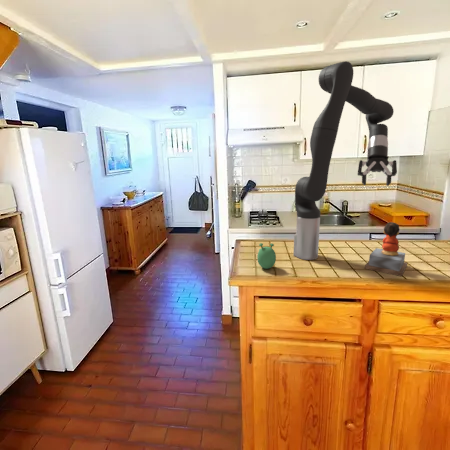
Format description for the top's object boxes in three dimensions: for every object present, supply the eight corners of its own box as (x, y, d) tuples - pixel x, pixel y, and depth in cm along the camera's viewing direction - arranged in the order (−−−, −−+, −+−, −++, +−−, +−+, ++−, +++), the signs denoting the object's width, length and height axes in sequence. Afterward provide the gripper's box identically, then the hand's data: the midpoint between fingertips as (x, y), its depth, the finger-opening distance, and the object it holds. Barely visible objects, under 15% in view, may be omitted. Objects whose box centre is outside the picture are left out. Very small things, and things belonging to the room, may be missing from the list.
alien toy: (273, 264, 114) (274, 239, 112) (277, 271, 106) (277, 245, 104) (256, 264, 114) (256, 240, 112) (258, 271, 107) (258, 246, 104)
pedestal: (364, 268, 107) (366, 255, 106) (372, 259, 116) (373, 247, 115) (401, 276, 100) (403, 262, 99) (407, 265, 109) (408, 252, 108)
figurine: (401, 257, 104) (405, 224, 101) (385, 256, 104) (389, 224, 102) (394, 251, 110) (397, 220, 107) (378, 251, 110) (381, 220, 108)
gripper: (360, 144, 120) (358, 181, 117) (399, 144, 115) (398, 181, 112) (358, 153, 127) (356, 187, 124) (394, 152, 122) (393, 188, 119)
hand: (376, 184), depth 118 cm, fingers open, 8 cm apart
